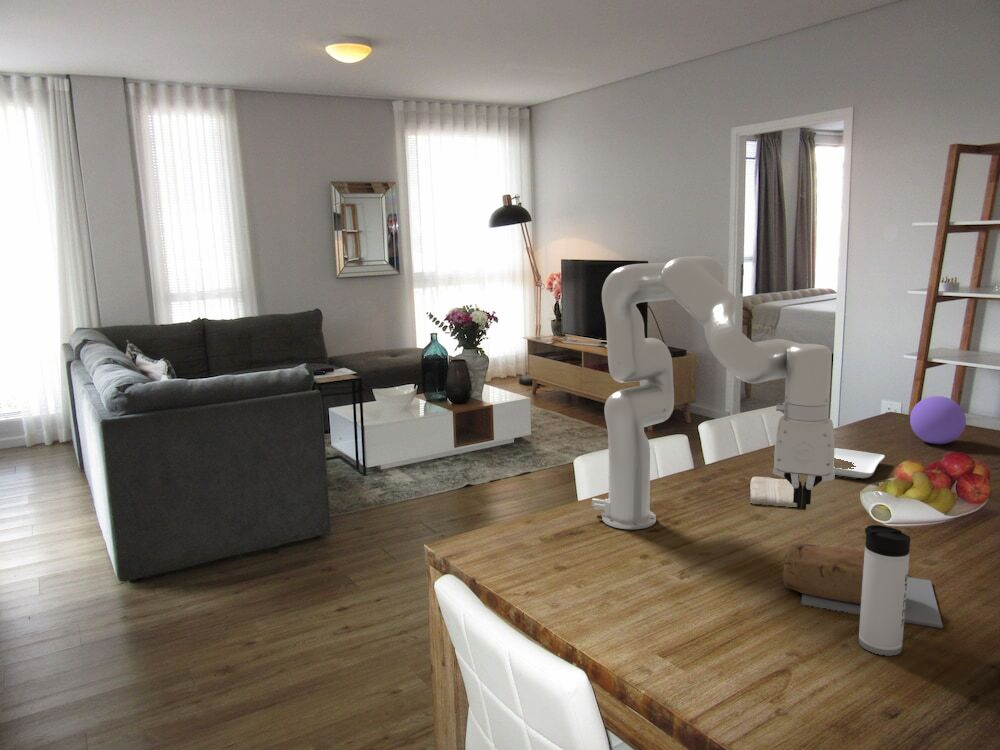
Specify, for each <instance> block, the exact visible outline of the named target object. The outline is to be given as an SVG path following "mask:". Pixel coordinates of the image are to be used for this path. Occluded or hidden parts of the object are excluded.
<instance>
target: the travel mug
mask: <svg viewBox="0 0 1000 750" xmlns="http://www.w3.org/2000/svg"><path fill="white" fill-rule="evenodd" d="M864 534H865V544H864V551H865V553H864V567H863V582H862V596H861V611H860V615H859V628H858V629H859V630H858V644H859V645H860V647H861V648H862V649H864V650H865V649H866V651H867V650H868V652H869V651H870V653H871V652H872V654H874V653H875V654H874V655H877V654H879V655H878V656H882V655H885V656H884V657H892V656H893V655H894V656H897V655H899V654H901V652H902V650H903V641H904V630H905V629H904V628H905V627H904V626H905V622H904V618H905V605H906V593H907V581H908V577H909V566H910V554H911V552H910V550H911V549H910V548H911V547H910V546H911V537H910V536H909V535H907V534H906V533H904V532H902V531H901V530H900V529H898V528H894V527H890V526H885V525H879V524H871V525H868V526H866V527H865V528H864Z"/></svg>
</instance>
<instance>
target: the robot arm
mask: <svg viewBox="0 0 1000 750" xmlns="http://www.w3.org/2000/svg"><path fill="white" fill-rule="evenodd" d="M724 282H725V272H724V269H723V266H722V265H721V264H720V262H719V261H717V260H716V259H715V258H714V257H712V256H707V255H693V256H692V255H691V256H690V255H689V256H680V257H676V258H674V259H671V260H670V261H667V262H653V263H634V264H633V263H632V264H627V265H624V266H623V265H622V266H620V267H617V268H616V269H614V270H613V271H611V273H610V274H609V275H608V276H607V277H606V278H605V281H604V283H603V286H602V290H601V303H602V308H603V313H604V317H605V328H606V329H605V330H606V332H605V333H606V347H607V349H606V350H607V363H608V364H607V365H608V371H609V374H610V377H611V378H612V379H613V380H614V381H616V382H618V383H623V384H624V383H627V384H628V383H636V382H639V385H638V386H631V387H628V388H623V389H620V390H617V391H615V392H613V393H612V394H611V395H609V397H607V398H606V401H605V403H604V407H603V409H604V418H605V419H604V420H605V423H606V428H607V437H608V441H607V443H608V498H605V499H602V498H598V497H597V498H595V497H592V499H591V506H592V507H593V509H594V510H601V511H603V512H602V514H601V521H603V522H604V524H606V525H608V526H610V527H612V528H615V529H620V530H621V529H622V530H641V529H647V528H650V527H652V526H653V525H654V524H655V523H657V515H656V514H655V513H654V512H653V511H652V510H650V501H651V499H650V498H651V497H650V495H651V494H650V491H651V486H650V485H651V446H650V442H649V439H648V437H647V435H646V433H645V428H646V427H648V426H653V425H656V424H660V423H663V422H665V421H667V420H668V419H670V417H671V415H672V414H673V411H674V405H675V390H674V369H673V368H674V367H673V359H672V354H671V352H670V350H669V348H668V346H667V345H666V344H665V342H663V341H662V340H661V339H658V338H655V337H647V338H646V336H645V335H646V334H645V322H644V317H643V315H642V314H641V311H640V310H639V308H638V307H637V304H641V303H650V302H661V301H670V300H675V302H677V303H678V304H679V305H680V306H681V307H682V308H683V309H684V310H685V311H686V312H687V313H689V314H690V316H691V317H693V318H694V319H695V321H697V322H698V323H699V324H700V325H701V326H702V327H703V329H704V336H705V339H706V342H707V345H708V346H709V350H710V351H711V353H712V355H713V356H714V357H715V358H716V360H718V362H719V363H720V364H721V365H723V367H724V368H726V369H727V370H728V372H730V374H731V375H733V376H734V377H736V378H737V379H739V380H740V381H742V382H744V383H747V384H755V385H756V384H759V383H760V384H761V383H764V382H768V381H769V382H770V381H775V380H781V379H785V387H784V388H785V389H784V393H785V394H784V401H783V402H782V403H776V407H775V409H776V410H775V411H776V412H781V413H782V414H783V415H782V416H781V417H780V418H779V420H778V425H777V429H776V434H775V446H774V458H773V459H774V460H773V461H774V462H773V464H774V466H773V469H772V474H773V475H775V476H777V477H782V478H784V479H787V480H788V481H789V482H790V484H791V485H792V486H793V488H794V495H793V503H797V508H796V510H800V509H802V510H803V511H806V510H807V505H811V503H812V501H811V499H812V490H813V488H814V487H815V486H817V485H819V484H820V483H821V482H826V481H827V482H828V481H834V480H835V477H836V476H835V474H834V470H833V469H834V448H835V428H834V424H833V421H832V419H830V418H829V413H830V396H831V395H830V394H831V379H832V378H831V375H832V362H833V361H832V360H833V359H832V357H833V356H832V355H833V354H832V350H831V349H830V348H829V347H828V346H826V345H823V344H819V343H818V344H817V343H800V342H795V341H792V340H790V339H789V340H788V339H783V338H773V339H767V340H761V341H756V342H753V341H752V340H751V339H750V338H748V337H747V335H745V333H743V332H742V331H741V330H740V329H739V328H738V327H737V326H736V325H735V323H734V321H733V319H732V317H733V316H734V315H735V312H736V311H737V308H738V299H737V297H736V295H734V294H733V293H732V292H731V291H730V290H729V289H727V288H726V287H725V286H724ZM800 475H804V476H807V477H806V481H805V482H804V485H802V482H801V480H800Z"/></svg>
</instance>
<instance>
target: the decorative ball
mask: <svg viewBox="0 0 1000 750" xmlns="http://www.w3.org/2000/svg"><path fill="white" fill-rule="evenodd" d="M909 416H910V417H909V423H910V426H911V430H912V431H913V432H914V434H915V435H916V436H917V437H918V438H919V439H921V440H922V441H924V442H926V443H929V444H932V443H933V444H932V445H946V444H949V443H952V442H953V441H955V440H957V439H958V438H959V437H960V436H961V435H962V434H963V432H964V430H965V428H966V424H967V423H966V422H967V420H966V419H967V418H966V414H965V412H964V409H963V408H962V407H961V405H960V404H959V403H958V402H956V401H955V400H953V399H951V398H949V397H947V396H946V397H945V396H943V395H942V396H941V395H931V396H929V397H925V398H924V399H921V400H920V401H918V402H917V403H916V404H915V405H914V407H913V408H912V409H911V412H910V415H909Z"/></svg>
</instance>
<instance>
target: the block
mask: <svg viewBox="0 0 1000 750" xmlns="http://www.w3.org/2000/svg"><path fill="white" fill-rule="evenodd" d="M864 553H865V550H860V549H856V548H855V549H854V548H846V547H838V546H837V547H836V546H833V547H832V546H830V547H829V546H819V545H818V544H817V545H816V544H811V543H802V542H801V543H800V542H794V543H793V544H792V543H790V544H789V545H788V548H787V550H786V552H785V558H784V565H783V569H782V570H783V571H782V580H783V584H784V586H785V587H786V588H787V589H790V590H795V591H797V592H798V593H801V594H802V593H803V594H808V595H813V596H818V597H823V598H828V599H833V600H838V601H844V602H850V603H856V604H861V596H862V582H863V567H864Z"/></svg>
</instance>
